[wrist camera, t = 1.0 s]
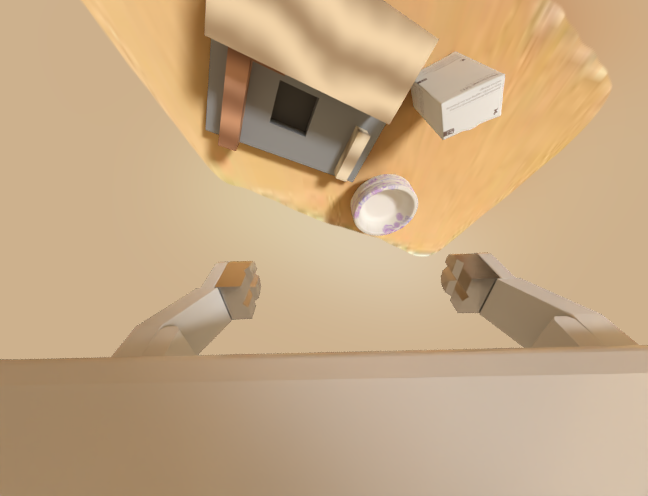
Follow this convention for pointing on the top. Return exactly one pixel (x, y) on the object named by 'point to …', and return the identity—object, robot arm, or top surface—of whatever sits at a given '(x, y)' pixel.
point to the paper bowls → (383, 204)
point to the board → (290, 117)
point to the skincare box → (457, 94)
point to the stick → (351, 153)
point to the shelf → (329, 46)
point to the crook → (235, 97)
